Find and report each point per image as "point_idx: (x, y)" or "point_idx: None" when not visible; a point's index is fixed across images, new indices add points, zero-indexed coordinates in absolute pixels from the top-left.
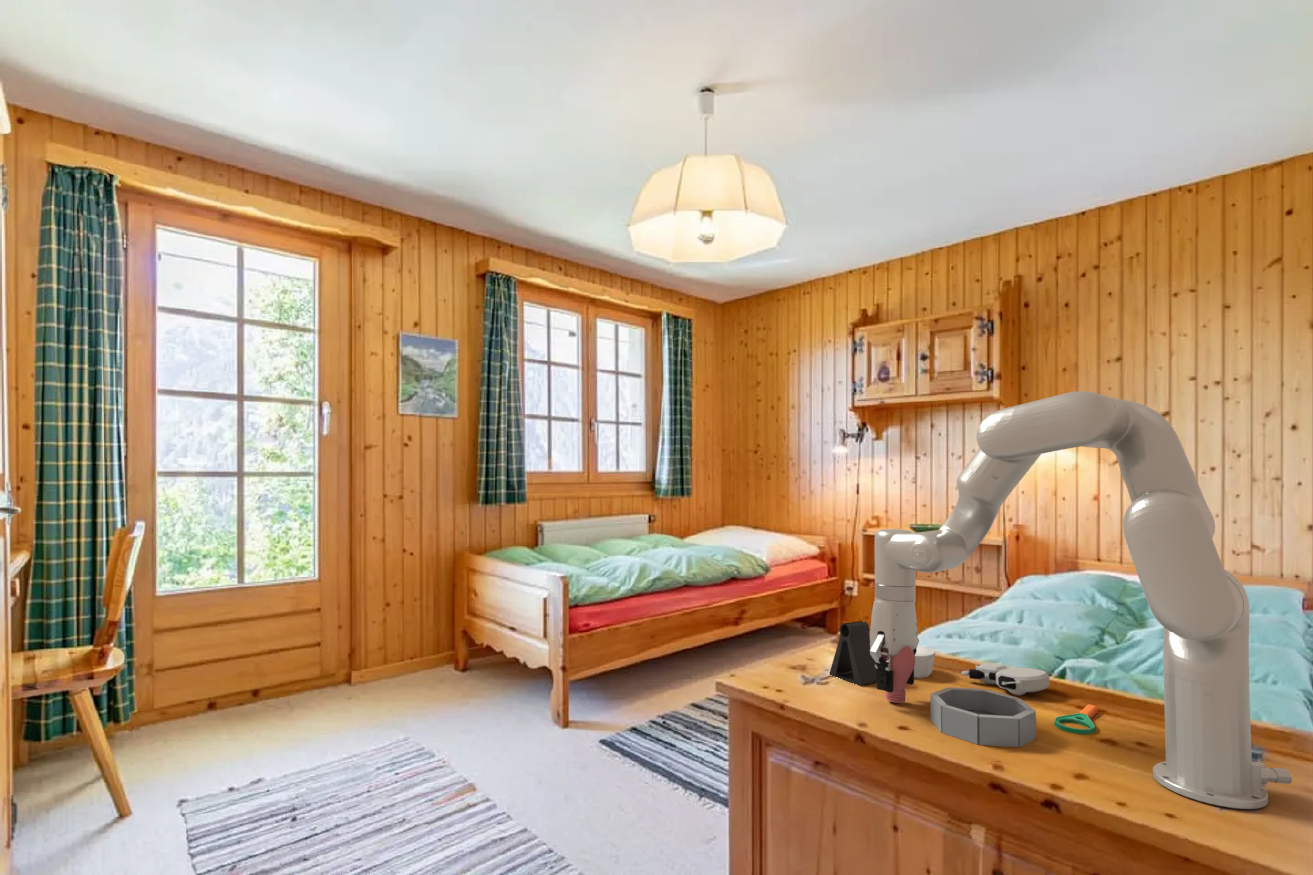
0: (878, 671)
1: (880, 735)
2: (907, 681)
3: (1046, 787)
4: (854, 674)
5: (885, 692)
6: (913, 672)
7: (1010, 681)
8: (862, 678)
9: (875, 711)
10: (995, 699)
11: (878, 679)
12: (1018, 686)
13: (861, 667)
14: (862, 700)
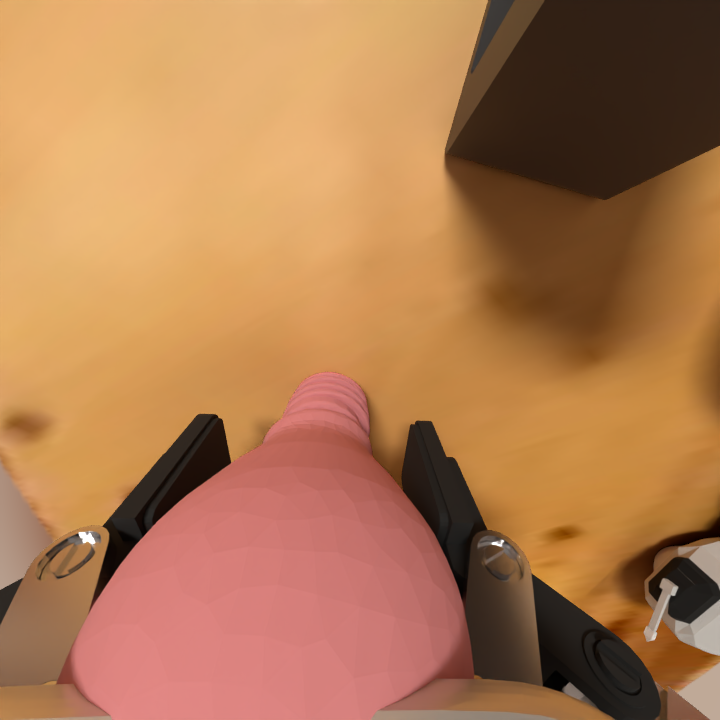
0: (109, 520)
1: (29, 490)
2: (405, 470)
3: None
4: (493, 46)
5: (298, 391)
6: None
7: (670, 608)
8: (487, 136)
9: (176, 394)
10: None
11: (149, 471)
12: (656, 603)
13: (566, 71)
14: (236, 294)
